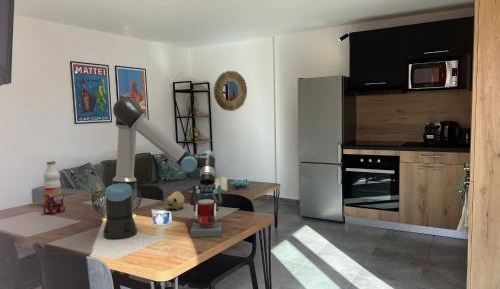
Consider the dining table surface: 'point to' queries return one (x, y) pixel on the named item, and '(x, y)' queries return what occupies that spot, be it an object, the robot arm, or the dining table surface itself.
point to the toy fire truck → (54, 204)
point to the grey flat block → (206, 230)
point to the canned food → (206, 212)
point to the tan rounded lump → (175, 200)
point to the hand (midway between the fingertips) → (205, 217)
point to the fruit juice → (51, 181)
